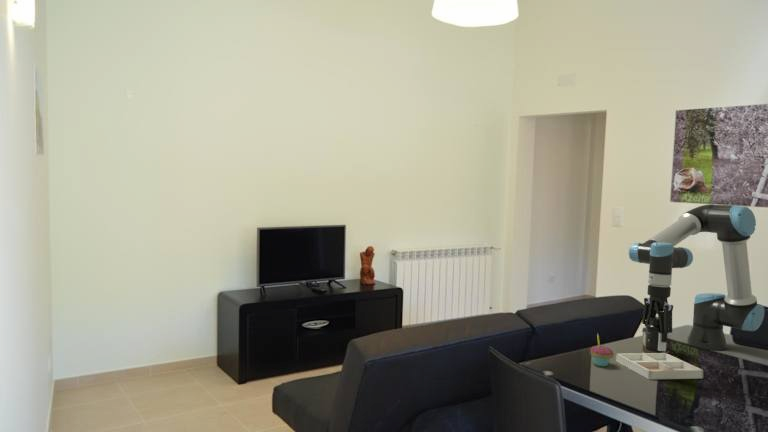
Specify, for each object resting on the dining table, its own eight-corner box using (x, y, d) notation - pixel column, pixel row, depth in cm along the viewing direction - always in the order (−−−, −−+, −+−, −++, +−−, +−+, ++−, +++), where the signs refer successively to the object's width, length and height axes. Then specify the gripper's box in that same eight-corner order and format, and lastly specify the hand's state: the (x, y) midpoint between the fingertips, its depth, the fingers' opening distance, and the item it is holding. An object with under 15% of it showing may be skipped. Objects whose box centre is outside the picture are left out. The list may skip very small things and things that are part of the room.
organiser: (665, 360, 234) (665, 353, 233) (703, 378, 213) (703, 370, 212) (615, 361, 230) (616, 353, 230) (649, 379, 209) (649, 371, 209)
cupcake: (587, 365, 223) (589, 334, 223) (591, 359, 231) (592, 329, 230) (611, 369, 219) (613, 337, 219) (614, 363, 227) (616, 332, 226)
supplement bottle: (640, 347, 218) (642, 315, 217) (657, 347, 219) (659, 315, 218) (652, 353, 211) (654, 320, 210) (669, 352, 212) (671, 319, 211)
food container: (669, 360, 235) (670, 335, 234) (653, 359, 235) (655, 334, 234) (655, 351, 247) (657, 327, 246) (640, 350, 247) (642, 327, 247)
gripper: (634, 280, 223) (630, 340, 224) (667, 290, 203) (663, 355, 204) (652, 280, 224) (648, 340, 225) (686, 290, 204) (682, 355, 206)
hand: (655, 347), depth 215 cm, fingers closed on supplement bottle, 7 cm apart
